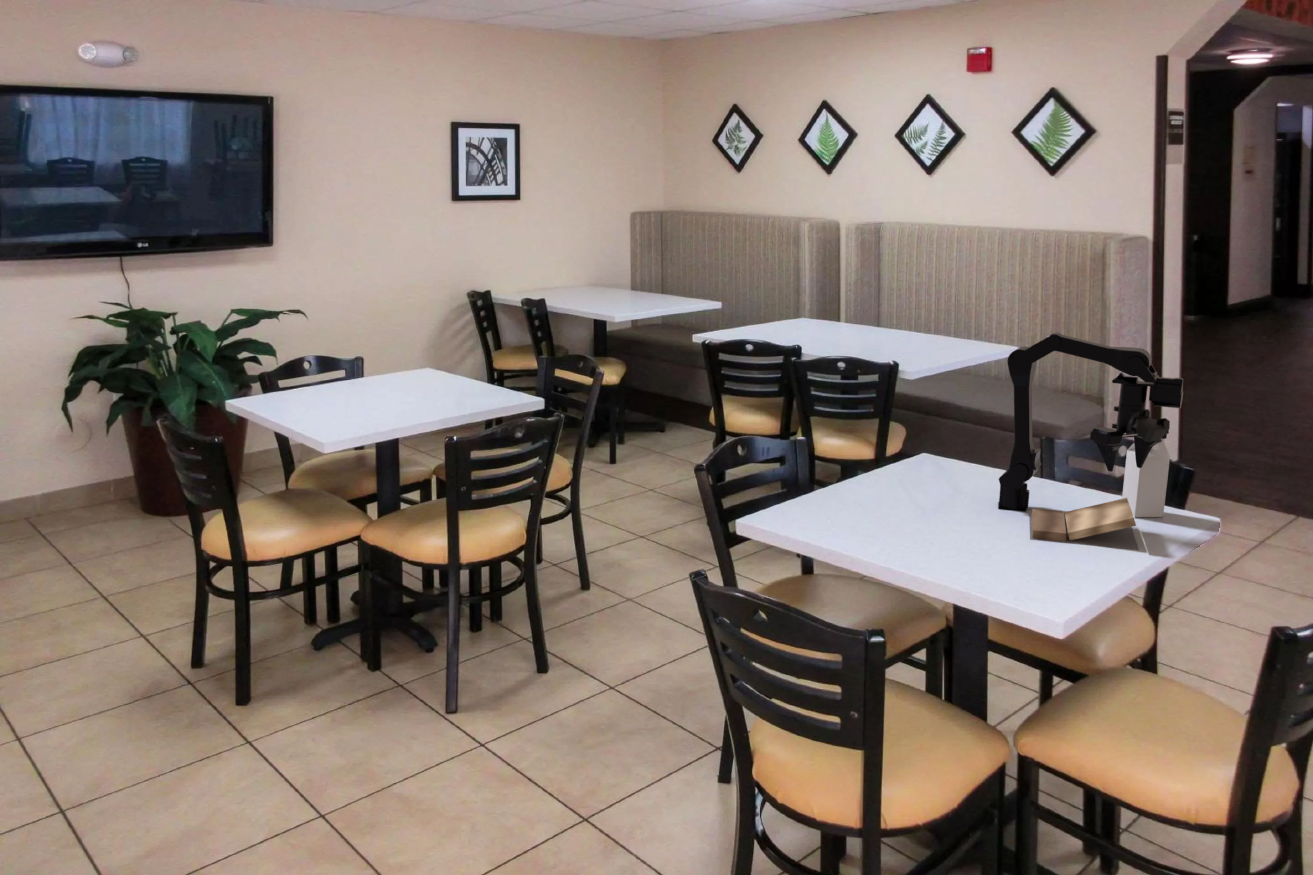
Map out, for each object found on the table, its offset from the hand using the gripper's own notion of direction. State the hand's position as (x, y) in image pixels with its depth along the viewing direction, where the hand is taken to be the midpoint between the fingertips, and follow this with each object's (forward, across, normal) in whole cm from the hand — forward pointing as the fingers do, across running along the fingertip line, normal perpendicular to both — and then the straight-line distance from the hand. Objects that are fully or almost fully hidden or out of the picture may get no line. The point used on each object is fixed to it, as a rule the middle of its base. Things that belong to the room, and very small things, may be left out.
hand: (1124, 469), depth 260 cm
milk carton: (+13, +12, +4) cm, 18 cm away
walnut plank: (+13, -19, +3) cm, 23 cm away
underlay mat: (+13, -14, -2) cm, 19 cm away
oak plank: (+10, -11, -5) cm, 16 cm away
